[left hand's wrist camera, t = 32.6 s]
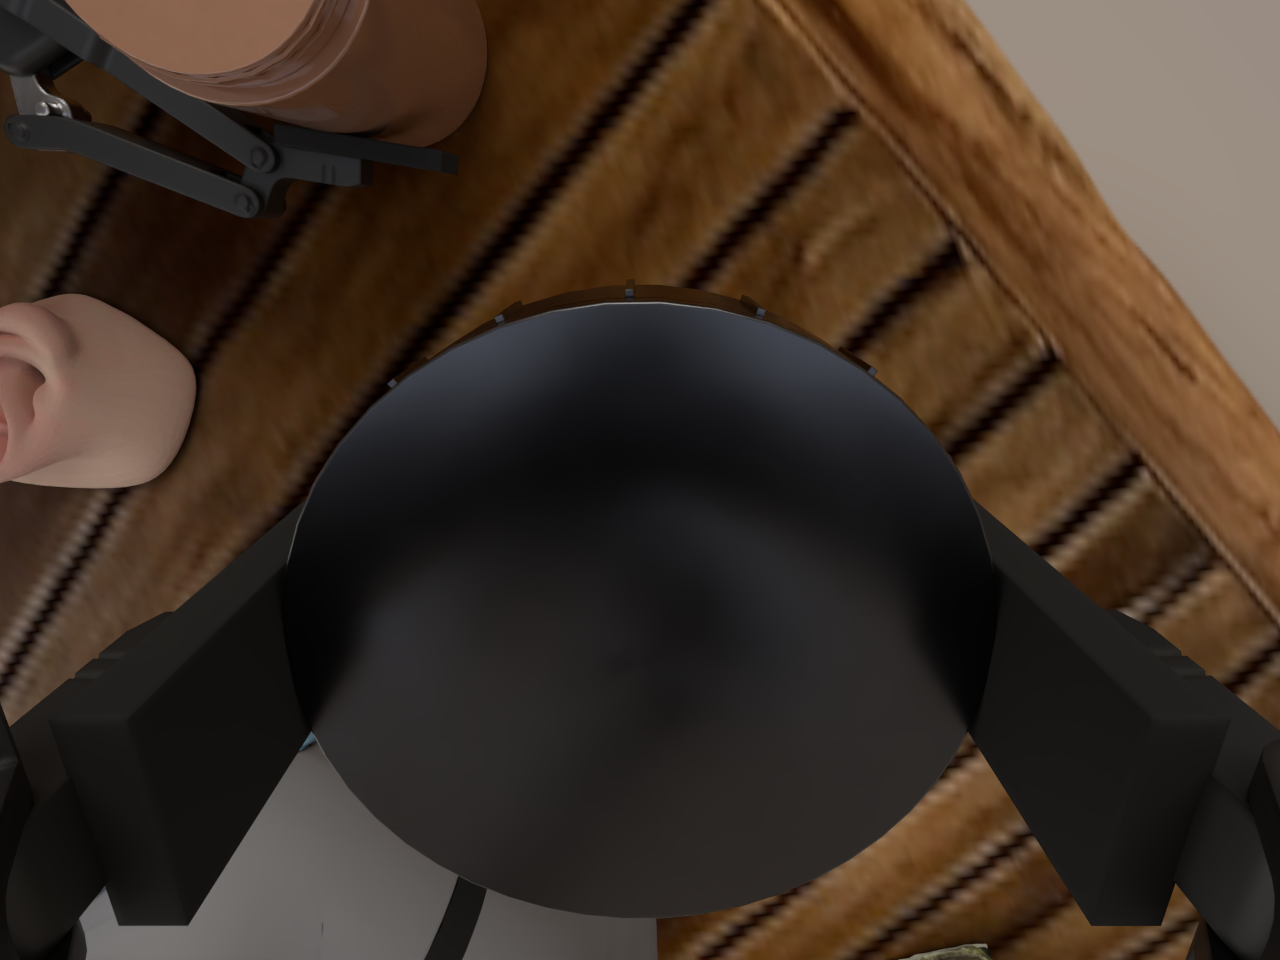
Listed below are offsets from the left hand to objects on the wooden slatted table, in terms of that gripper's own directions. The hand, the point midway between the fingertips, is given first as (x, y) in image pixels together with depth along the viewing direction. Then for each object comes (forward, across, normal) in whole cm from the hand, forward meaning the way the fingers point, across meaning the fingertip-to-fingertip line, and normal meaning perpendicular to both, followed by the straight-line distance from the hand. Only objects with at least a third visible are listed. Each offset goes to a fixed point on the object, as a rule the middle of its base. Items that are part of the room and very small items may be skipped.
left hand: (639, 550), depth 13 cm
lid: (-3, 0, 0) cm, 3 cm away
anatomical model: (+27, +31, +4) cm, 41 cm away
